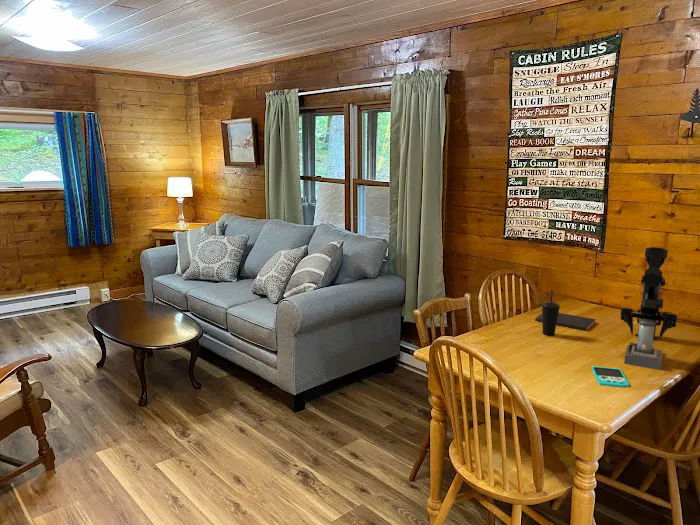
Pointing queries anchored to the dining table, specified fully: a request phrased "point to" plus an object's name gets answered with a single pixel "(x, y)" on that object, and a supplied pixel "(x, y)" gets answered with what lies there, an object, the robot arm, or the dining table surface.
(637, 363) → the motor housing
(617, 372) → the handheld game console
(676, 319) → the robot arm
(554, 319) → the drinking cup
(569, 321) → the hardcover book
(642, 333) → the grey capped cylinder
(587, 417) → the dining table surface
